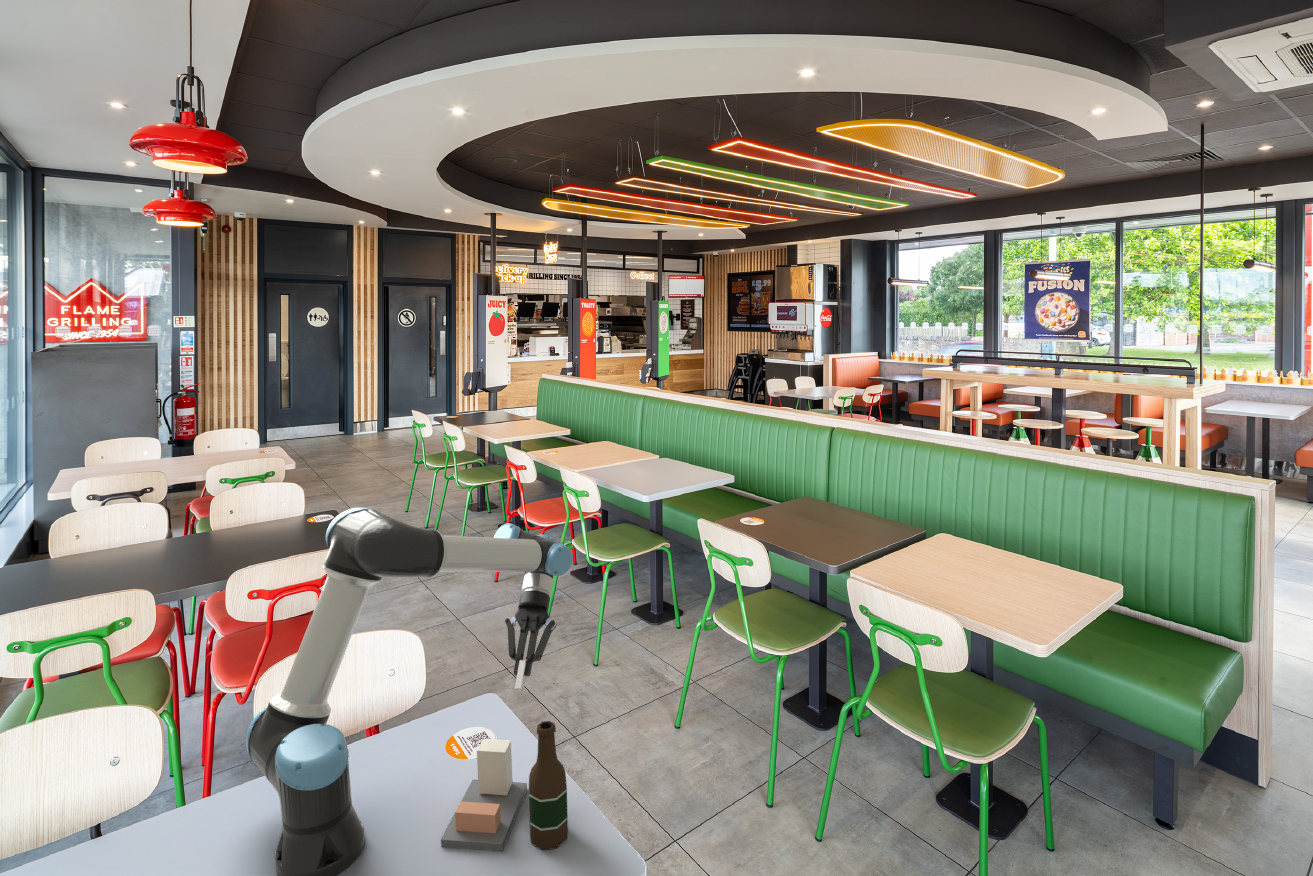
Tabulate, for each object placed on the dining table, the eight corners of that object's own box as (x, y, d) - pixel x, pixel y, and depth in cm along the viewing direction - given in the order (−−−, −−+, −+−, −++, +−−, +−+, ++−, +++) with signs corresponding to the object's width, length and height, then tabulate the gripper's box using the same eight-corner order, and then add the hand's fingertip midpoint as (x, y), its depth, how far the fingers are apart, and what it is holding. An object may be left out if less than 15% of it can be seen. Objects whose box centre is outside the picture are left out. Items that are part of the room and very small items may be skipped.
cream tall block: (478, 793, 139) (476, 750, 138) (485, 780, 143) (483, 738, 142) (506, 795, 139) (505, 752, 137) (512, 782, 143) (510, 740, 141)
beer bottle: (561, 854, 126) (558, 740, 122) (522, 848, 127) (518, 734, 123) (574, 824, 133) (572, 715, 129) (537, 818, 135) (534, 711, 131)
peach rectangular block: (455, 830, 130) (454, 812, 129) (461, 819, 133) (460, 801, 132) (495, 833, 129) (495, 815, 128) (500, 822, 132) (500, 804, 131)
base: (441, 846, 128) (440, 839, 127) (473, 785, 144) (472, 779, 144) (502, 851, 127) (501, 844, 126) (527, 789, 143) (526, 783, 143)
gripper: (563, 600, 172) (549, 695, 159) (514, 598, 174) (496, 692, 160) (558, 589, 166) (543, 687, 153) (507, 587, 167) (487, 684, 154)
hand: (519, 689), depth 157 cm, fingers closed
